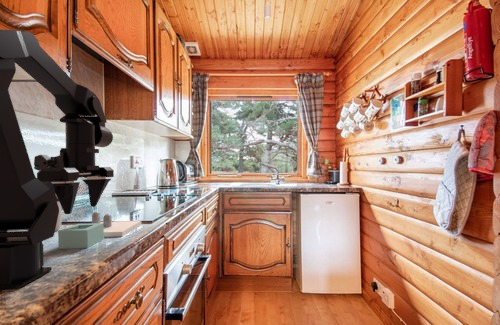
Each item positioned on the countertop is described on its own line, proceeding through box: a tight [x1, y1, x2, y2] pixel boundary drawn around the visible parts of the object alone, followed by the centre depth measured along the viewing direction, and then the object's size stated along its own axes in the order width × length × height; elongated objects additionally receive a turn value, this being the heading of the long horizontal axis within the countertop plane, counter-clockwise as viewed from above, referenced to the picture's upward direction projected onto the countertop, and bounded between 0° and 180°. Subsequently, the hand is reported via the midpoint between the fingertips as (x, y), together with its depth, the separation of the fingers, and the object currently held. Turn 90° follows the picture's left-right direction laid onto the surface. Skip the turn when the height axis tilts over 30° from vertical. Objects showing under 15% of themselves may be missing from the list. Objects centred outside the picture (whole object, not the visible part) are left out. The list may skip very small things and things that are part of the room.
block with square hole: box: [57, 222, 105, 250], centre depth 58 cm, size 6×6×4 cm
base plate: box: [91, 211, 142, 238], centre depth 69 cm, size 12×14×5 cm
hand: (81, 210), depth 58 cm, fingers open, 9 cm apart
